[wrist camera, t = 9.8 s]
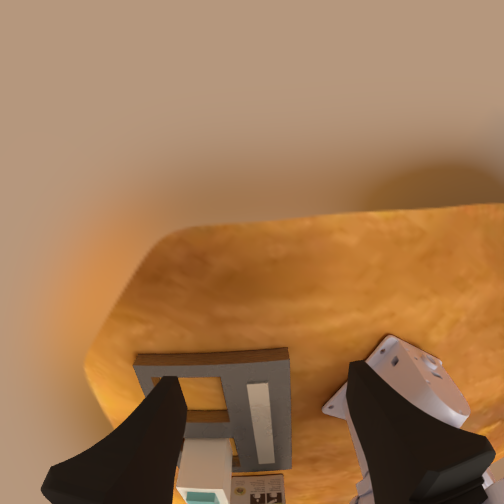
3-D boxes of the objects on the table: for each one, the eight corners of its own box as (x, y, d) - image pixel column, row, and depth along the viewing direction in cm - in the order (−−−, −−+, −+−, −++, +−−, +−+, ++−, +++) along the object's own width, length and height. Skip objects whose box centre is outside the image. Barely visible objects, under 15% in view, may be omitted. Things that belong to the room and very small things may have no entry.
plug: (186, 429, 27) (174, 496, 19) (226, 429, 27) (222, 498, 19) (195, 451, 28) (186, 512, 21) (232, 451, 28) (229, 514, 20)
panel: (138, 354, 24) (132, 366, 22) (287, 347, 23) (289, 361, 22) (182, 460, 29) (180, 472, 27) (290, 458, 28) (291, 470, 27)
